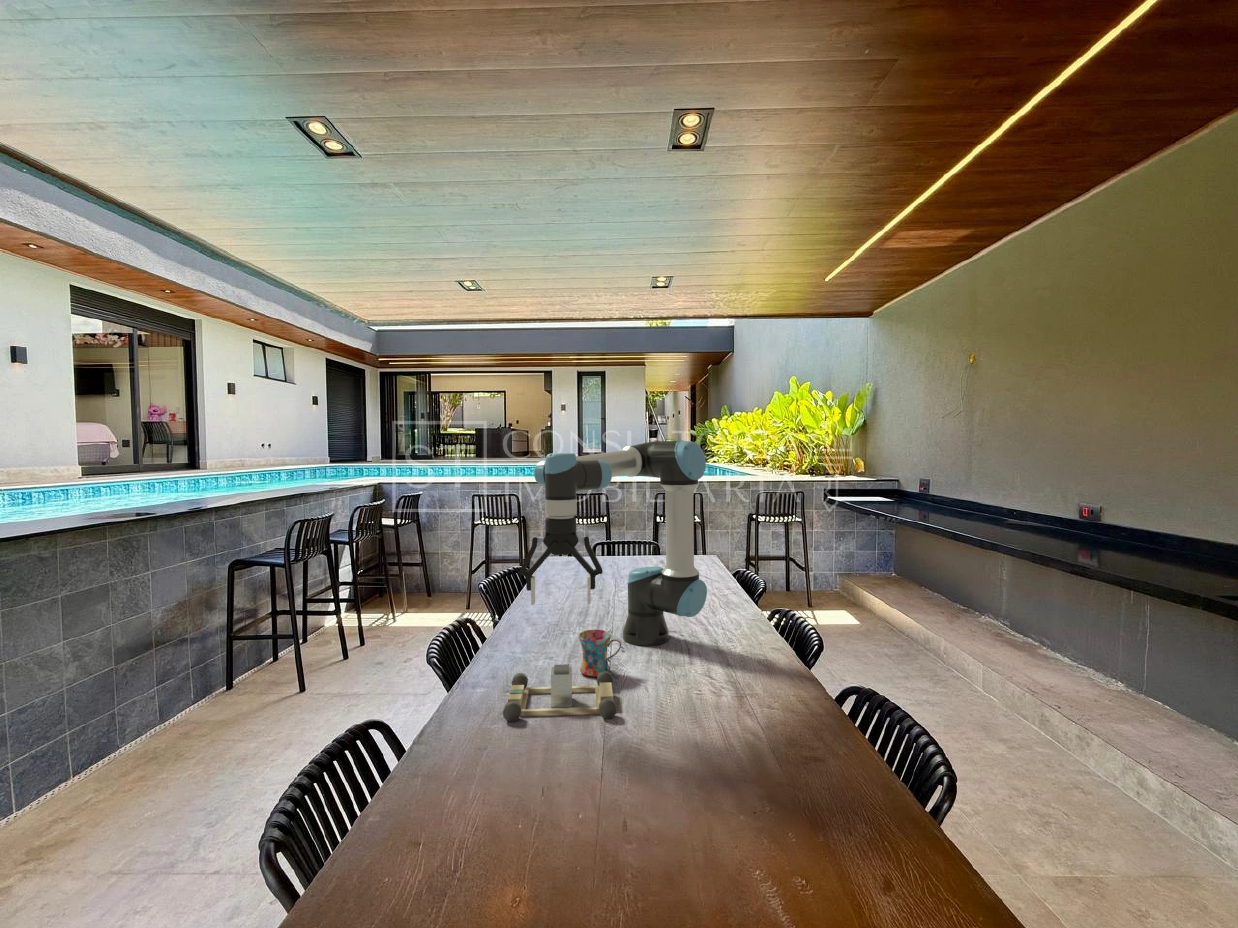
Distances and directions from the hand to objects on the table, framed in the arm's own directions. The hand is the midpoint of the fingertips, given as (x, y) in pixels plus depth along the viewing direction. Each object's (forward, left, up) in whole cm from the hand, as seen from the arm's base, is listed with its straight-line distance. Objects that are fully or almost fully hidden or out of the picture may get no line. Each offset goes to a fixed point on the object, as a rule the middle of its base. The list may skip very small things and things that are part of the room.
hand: (561, 603), depth 138 cm
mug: (-10, -18, -25) cm, 32 cm away
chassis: (0, 0, -25) cm, 25 cm away
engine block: (0, 0, -25) cm, 25 cm away
